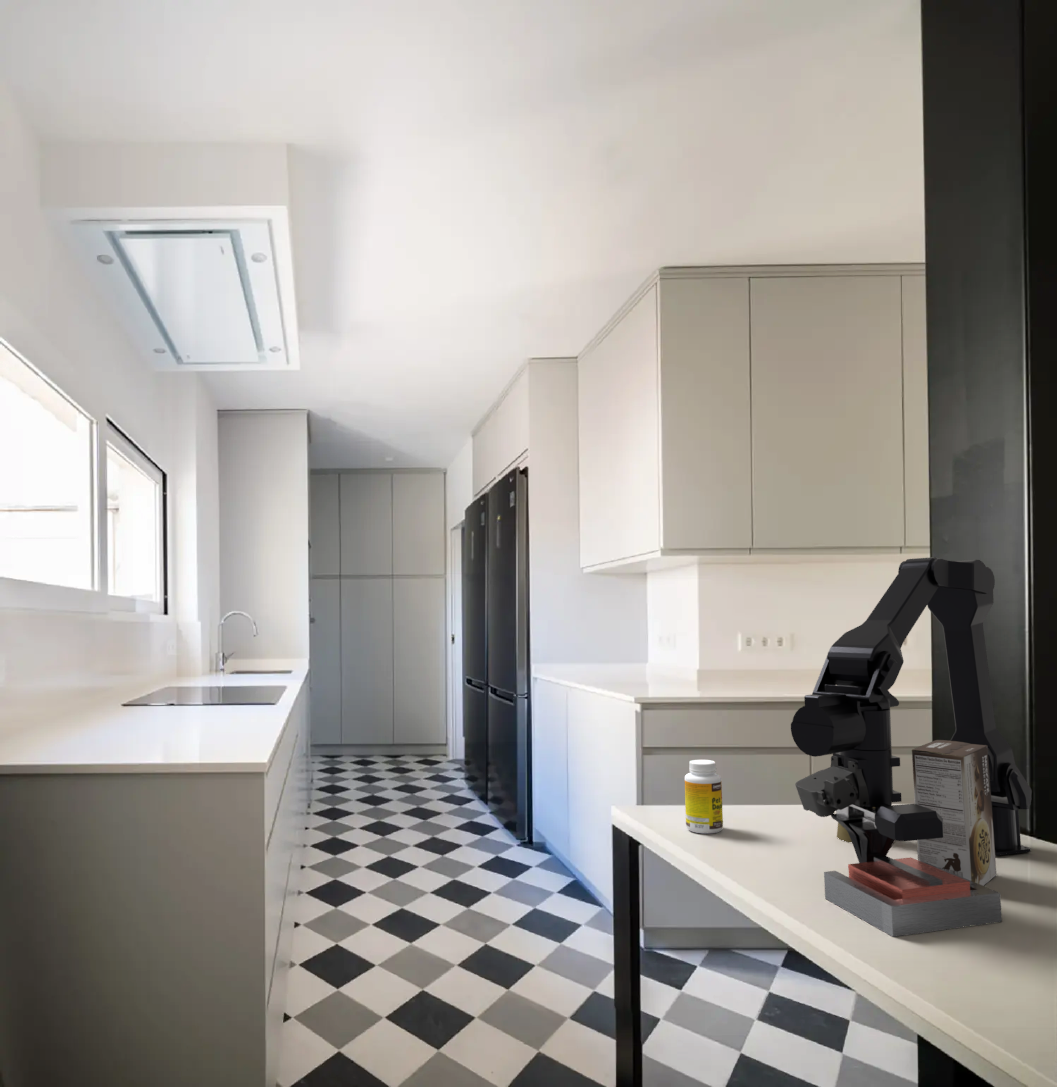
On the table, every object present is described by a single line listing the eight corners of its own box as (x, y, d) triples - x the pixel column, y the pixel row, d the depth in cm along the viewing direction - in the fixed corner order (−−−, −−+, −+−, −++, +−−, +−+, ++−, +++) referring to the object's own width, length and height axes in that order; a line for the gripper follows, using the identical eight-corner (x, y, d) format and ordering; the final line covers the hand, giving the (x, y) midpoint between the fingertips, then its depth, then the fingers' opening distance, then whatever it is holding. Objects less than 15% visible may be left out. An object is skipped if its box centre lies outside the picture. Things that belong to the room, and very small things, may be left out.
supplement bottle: (716, 836, 120) (714, 766, 121) (680, 831, 123) (678, 763, 124) (728, 827, 125) (725, 759, 126) (693, 823, 128) (691, 757, 128)
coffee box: (943, 865, 105) (935, 738, 106) (998, 876, 101) (990, 743, 102) (916, 882, 99) (909, 747, 100) (974, 895, 94) (965, 753, 95)
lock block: (912, 892, 96) (910, 852, 96) (971, 920, 87) (969, 876, 87) (849, 899, 93) (848, 859, 94) (904, 929, 85) (901, 884, 85)
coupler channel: (924, 886, 97) (922, 860, 97) (1001, 921, 86) (1000, 892, 86) (825, 898, 94) (823, 871, 94) (892, 936, 83) (891, 906, 83)
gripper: (764, 736, 104) (767, 860, 103) (855, 766, 86) (860, 916, 85) (840, 732, 107) (844, 853, 106) (944, 760, 89) (950, 906, 88)
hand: (869, 879), depth 96 cm, fingers closed
